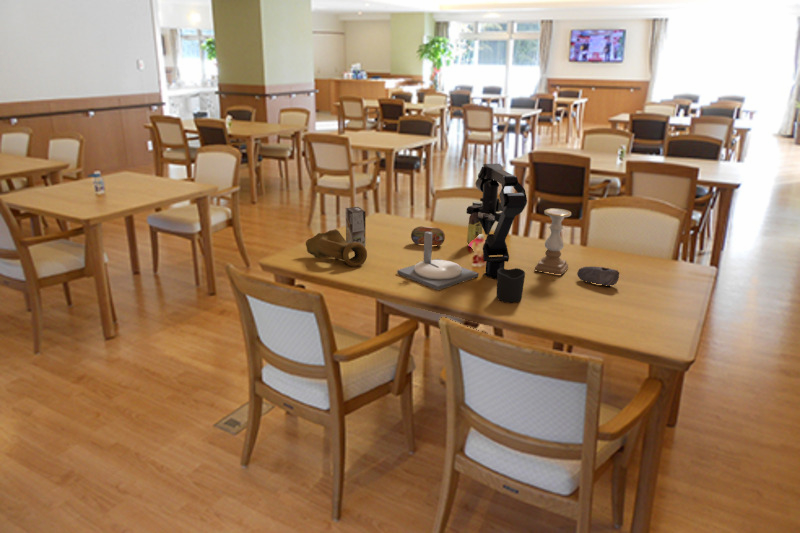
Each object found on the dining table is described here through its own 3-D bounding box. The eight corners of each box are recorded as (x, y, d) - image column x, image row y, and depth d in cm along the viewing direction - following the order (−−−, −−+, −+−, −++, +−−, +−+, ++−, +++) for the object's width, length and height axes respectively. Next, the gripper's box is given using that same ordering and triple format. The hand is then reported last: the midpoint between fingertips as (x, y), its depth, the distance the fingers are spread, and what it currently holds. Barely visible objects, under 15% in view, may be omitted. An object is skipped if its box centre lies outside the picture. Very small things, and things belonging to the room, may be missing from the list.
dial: (461, 264, 236) (463, 231, 232) (461, 280, 219) (463, 245, 215) (416, 262, 238) (417, 229, 233) (412, 277, 221) (413, 243, 217)
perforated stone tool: (574, 281, 226) (576, 264, 224) (579, 277, 230) (581, 260, 228) (613, 290, 218) (616, 273, 216) (618, 286, 222) (621, 269, 220)
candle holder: (534, 271, 236) (540, 212, 228) (541, 263, 245) (547, 206, 237) (561, 276, 231) (568, 216, 223) (568, 268, 240) (575, 210, 232)
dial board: (478, 276, 229) (478, 272, 228) (437, 290, 215) (438, 285, 214) (437, 262, 244) (437, 258, 243) (397, 273, 230) (397, 269, 229)
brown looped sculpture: (349, 232, 256) (372, 237, 237) (343, 261, 256) (365, 269, 237) (309, 223, 246) (330, 228, 228) (303, 254, 247) (323, 261, 228)
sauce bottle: (476, 249, 261) (479, 205, 254) (464, 246, 264) (466, 202, 258) (483, 245, 266) (486, 202, 259) (471, 243, 269) (474, 200, 263)
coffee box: (366, 247, 261) (366, 211, 255) (352, 248, 258) (352, 212, 253) (358, 241, 269) (358, 206, 263) (345, 242, 266) (344, 207, 261)
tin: (410, 244, 266) (411, 226, 263) (412, 242, 269) (413, 224, 266) (443, 248, 262) (444, 229, 259) (445, 246, 265) (446, 227, 262)
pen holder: (503, 291, 215) (506, 265, 212) (527, 298, 209) (530, 271, 206) (490, 298, 208) (492, 272, 205) (514, 306, 203) (516, 278, 199)
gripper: (522, 197, 230) (518, 236, 235) (485, 189, 243) (482, 226, 248) (503, 201, 223) (500, 241, 228) (466, 192, 236) (464, 230, 241)
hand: (487, 234), depth 237 cm, fingers closed
